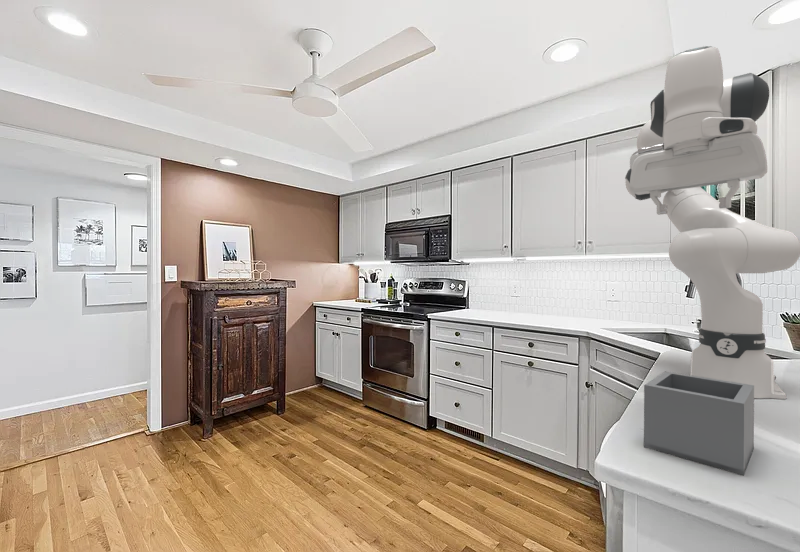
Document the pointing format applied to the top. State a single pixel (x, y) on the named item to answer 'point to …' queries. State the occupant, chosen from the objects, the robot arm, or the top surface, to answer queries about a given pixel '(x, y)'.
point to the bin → (700, 420)
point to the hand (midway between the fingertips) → (692, 211)
